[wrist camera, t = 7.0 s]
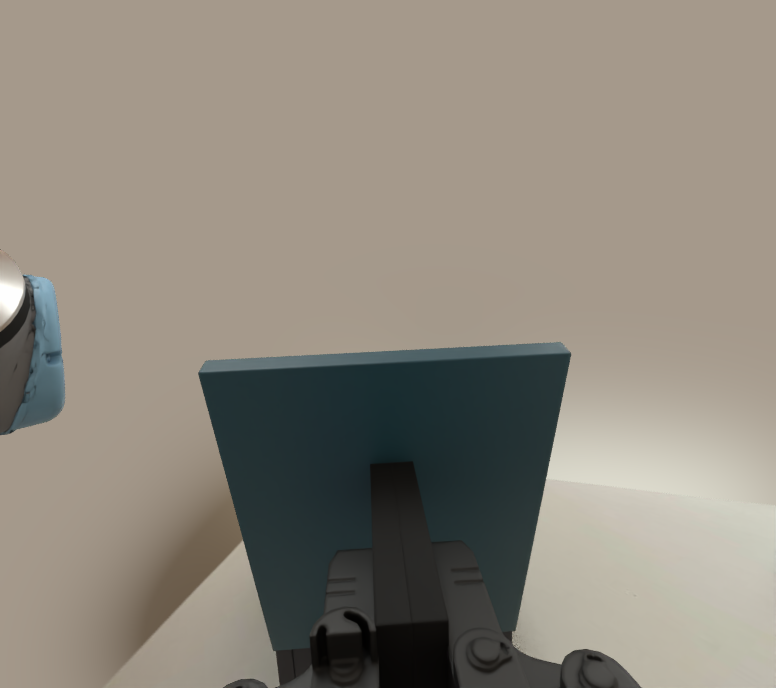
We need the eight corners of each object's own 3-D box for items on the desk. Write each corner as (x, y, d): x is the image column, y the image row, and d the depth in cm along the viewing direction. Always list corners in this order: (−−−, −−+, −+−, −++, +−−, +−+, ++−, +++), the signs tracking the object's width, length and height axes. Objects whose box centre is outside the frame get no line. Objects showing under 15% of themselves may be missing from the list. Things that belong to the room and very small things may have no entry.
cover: (205, 359, 14) (197, 373, 13) (561, 341, 14) (572, 353, 14) (275, 633, 21) (272, 651, 20) (510, 614, 22) (515, 631, 21)
